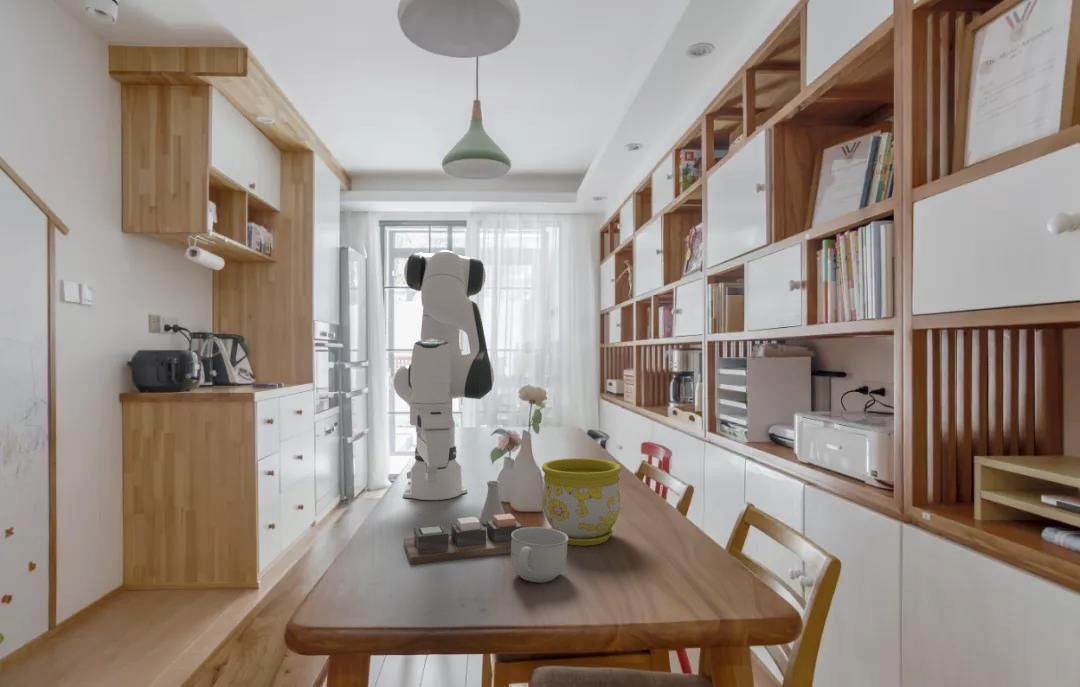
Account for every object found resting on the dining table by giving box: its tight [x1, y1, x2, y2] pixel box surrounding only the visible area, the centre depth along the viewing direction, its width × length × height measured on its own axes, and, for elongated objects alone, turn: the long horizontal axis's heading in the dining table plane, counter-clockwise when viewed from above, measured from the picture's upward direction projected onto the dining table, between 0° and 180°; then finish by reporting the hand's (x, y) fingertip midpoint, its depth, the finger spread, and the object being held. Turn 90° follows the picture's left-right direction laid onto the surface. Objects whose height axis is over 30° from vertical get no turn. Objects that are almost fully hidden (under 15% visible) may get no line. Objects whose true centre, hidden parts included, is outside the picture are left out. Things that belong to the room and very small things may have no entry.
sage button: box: [419, 525, 442, 535], centre depth 123 cm, size 4×4×2 cm
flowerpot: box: [541, 457, 622, 547], centre depth 134 cm, size 18×18×16 cm
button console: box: [403, 520, 523, 566], centre depth 126 cm, size 12×26×4 cm, turn 109°
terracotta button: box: [493, 513, 517, 527], centre depth 129 cm, size 4×4×2 cm
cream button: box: [456, 516, 480, 531], centre depth 126 cm, size 4×4×2 cm
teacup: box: [510, 526, 568, 583], centre depth 109 cm, size 14×11×8 cm
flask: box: [478, 480, 506, 526], centre depth 146 cm, size 7×7×10 cm
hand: (430, 481), depth 124 cm, fingers closed
